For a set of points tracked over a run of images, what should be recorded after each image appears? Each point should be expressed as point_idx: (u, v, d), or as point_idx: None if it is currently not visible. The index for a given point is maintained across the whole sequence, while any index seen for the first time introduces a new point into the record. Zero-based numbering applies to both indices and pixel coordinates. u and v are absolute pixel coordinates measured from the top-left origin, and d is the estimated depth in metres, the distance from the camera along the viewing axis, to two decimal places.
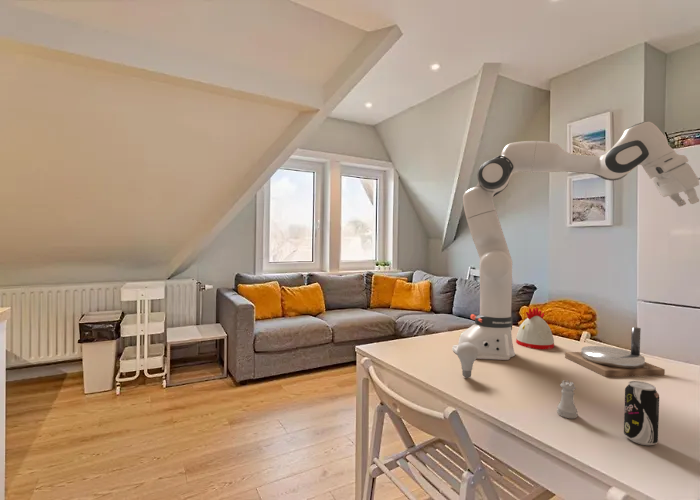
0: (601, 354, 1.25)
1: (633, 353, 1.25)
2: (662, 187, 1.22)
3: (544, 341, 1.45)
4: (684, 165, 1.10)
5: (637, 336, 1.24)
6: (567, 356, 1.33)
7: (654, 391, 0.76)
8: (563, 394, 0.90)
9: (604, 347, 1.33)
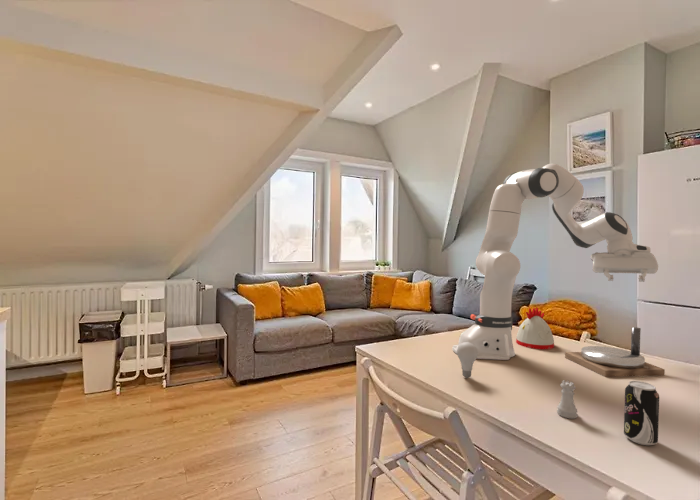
0: (601, 354, 1.25)
1: (633, 353, 1.25)
2: (609, 261, 1.44)
3: (544, 341, 1.45)
4: None
5: (637, 336, 1.24)
6: (567, 356, 1.33)
7: (654, 391, 0.76)
8: (563, 394, 0.90)
9: (604, 347, 1.33)
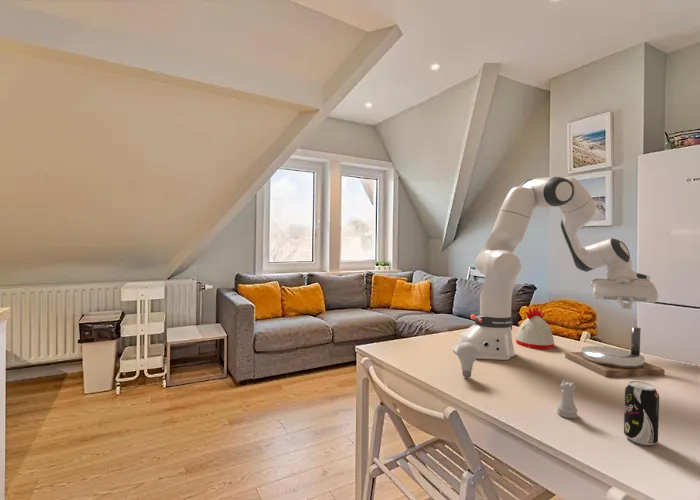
0: (601, 354, 1.25)
1: (633, 353, 1.25)
2: (609, 288, 1.44)
3: (544, 341, 1.45)
4: None
5: (637, 336, 1.24)
6: (567, 356, 1.33)
7: (654, 391, 0.76)
8: (563, 394, 0.90)
9: (604, 347, 1.33)
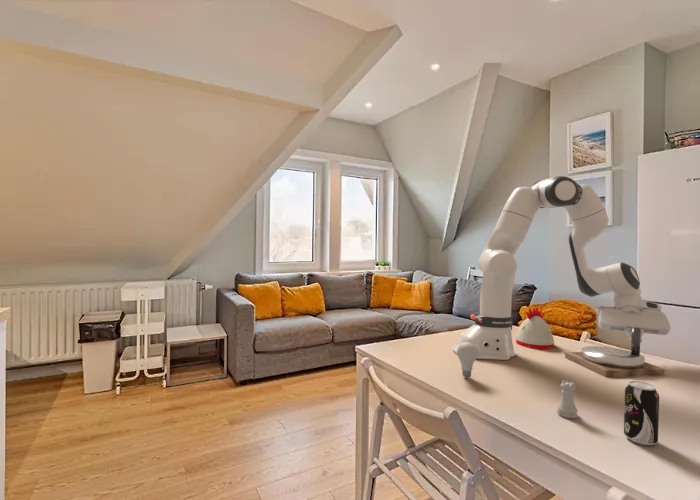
0: (601, 354, 1.25)
1: (633, 353, 1.25)
2: (617, 317, 1.32)
3: (544, 341, 1.45)
4: None
5: (637, 336, 1.24)
6: (567, 356, 1.33)
7: (654, 391, 0.76)
8: (563, 394, 0.90)
9: (604, 347, 1.33)
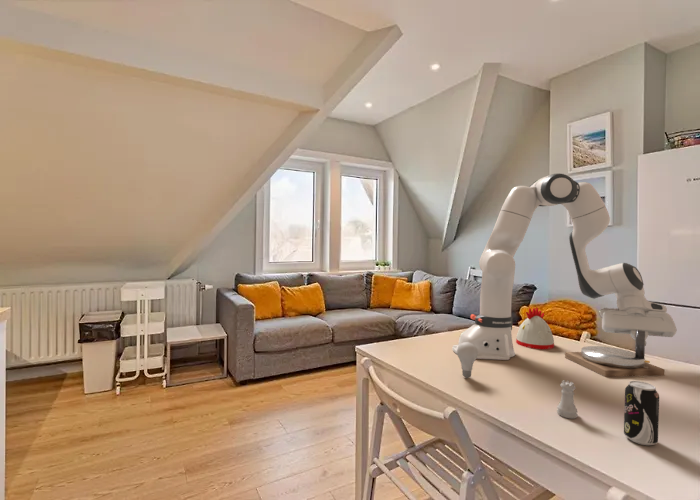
0: (596, 352, 1.27)
1: (635, 356, 1.21)
2: (621, 320, 1.28)
3: (544, 341, 1.45)
4: None
5: (639, 339, 1.20)
6: (567, 356, 1.33)
7: (654, 391, 0.76)
8: (563, 394, 0.90)
9: (618, 349, 1.31)
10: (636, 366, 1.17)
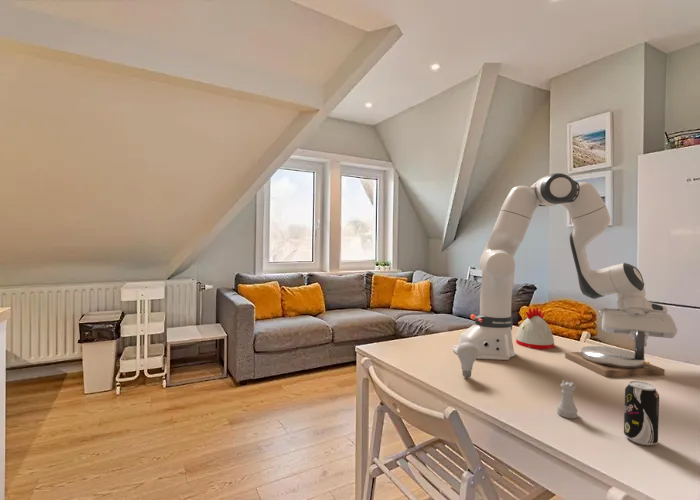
0: (596, 351, 1.28)
1: (635, 357, 1.21)
2: (621, 320, 1.27)
3: (544, 341, 1.45)
4: None
5: (638, 340, 1.20)
6: (567, 356, 1.33)
7: (654, 391, 0.76)
8: (563, 394, 0.90)
9: (623, 350, 1.30)
10: (632, 366, 1.17)
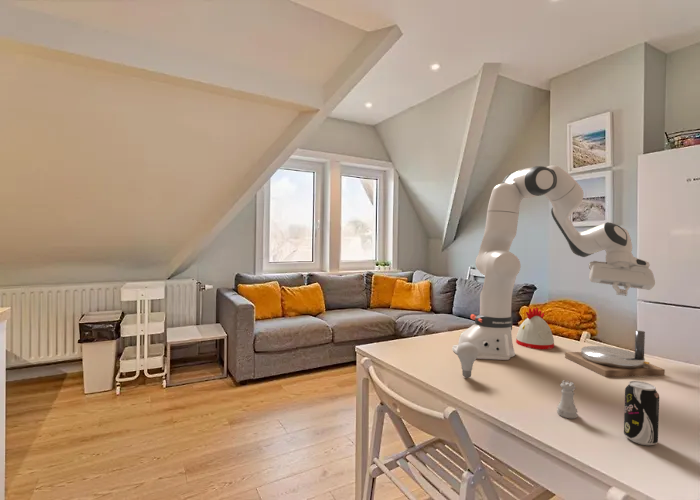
0: (596, 351, 1.28)
1: (635, 357, 1.21)
2: (607, 272, 1.41)
3: (544, 341, 1.45)
4: None
5: (638, 340, 1.20)
6: (567, 356, 1.33)
7: (654, 391, 0.76)
8: (563, 394, 0.90)
9: (623, 350, 1.30)
10: (632, 366, 1.17)
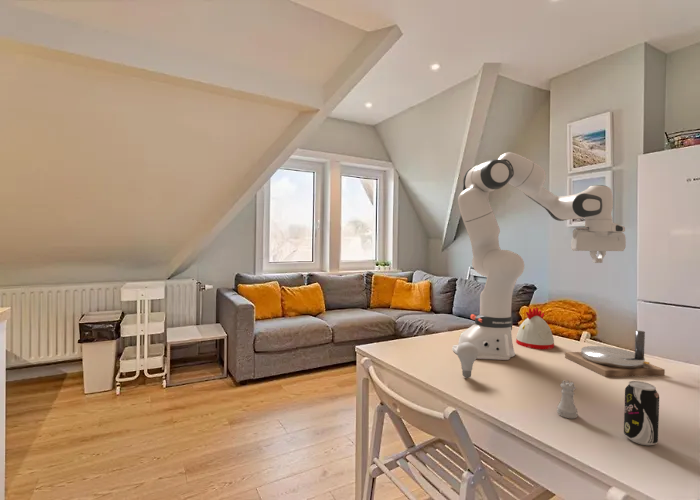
0: (596, 351, 1.28)
1: (635, 357, 1.21)
2: (590, 242, 1.42)
3: (544, 341, 1.45)
4: None
5: (638, 340, 1.20)
6: (567, 356, 1.33)
7: (654, 391, 0.76)
8: (563, 394, 0.90)
9: (623, 350, 1.30)
10: (632, 366, 1.17)
